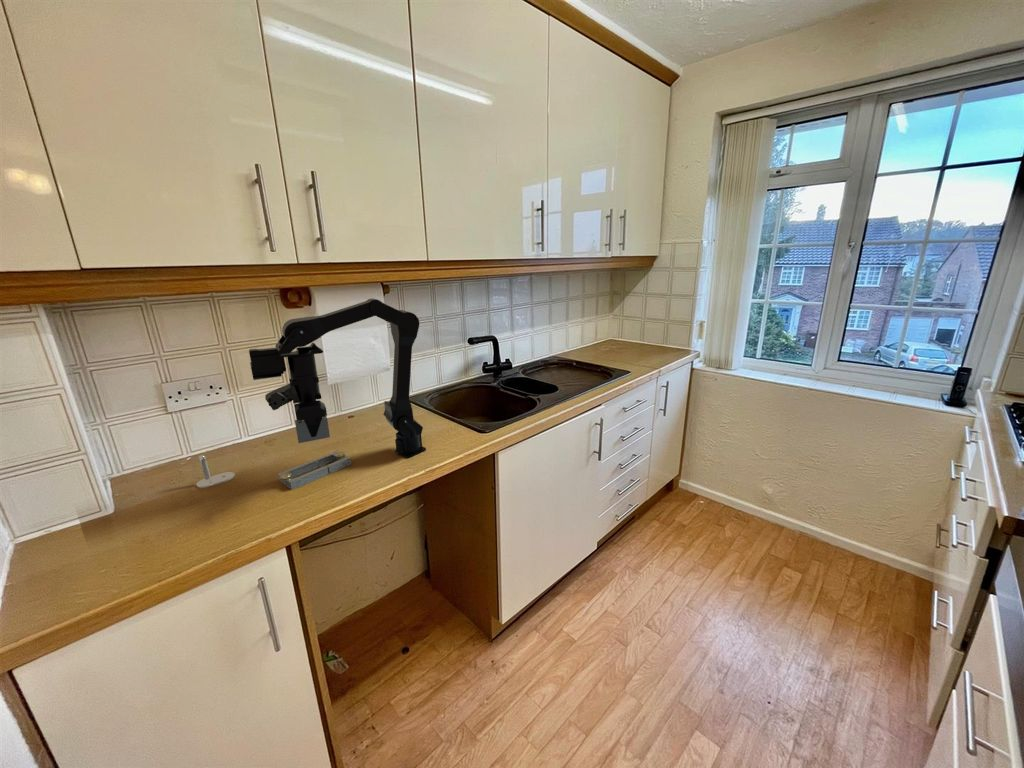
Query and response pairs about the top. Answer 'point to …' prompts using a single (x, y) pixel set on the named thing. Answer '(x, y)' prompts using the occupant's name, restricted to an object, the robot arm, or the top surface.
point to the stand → (212, 479)
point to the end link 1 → (304, 479)
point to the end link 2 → (338, 459)
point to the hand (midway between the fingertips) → (313, 434)
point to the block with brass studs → (305, 435)
